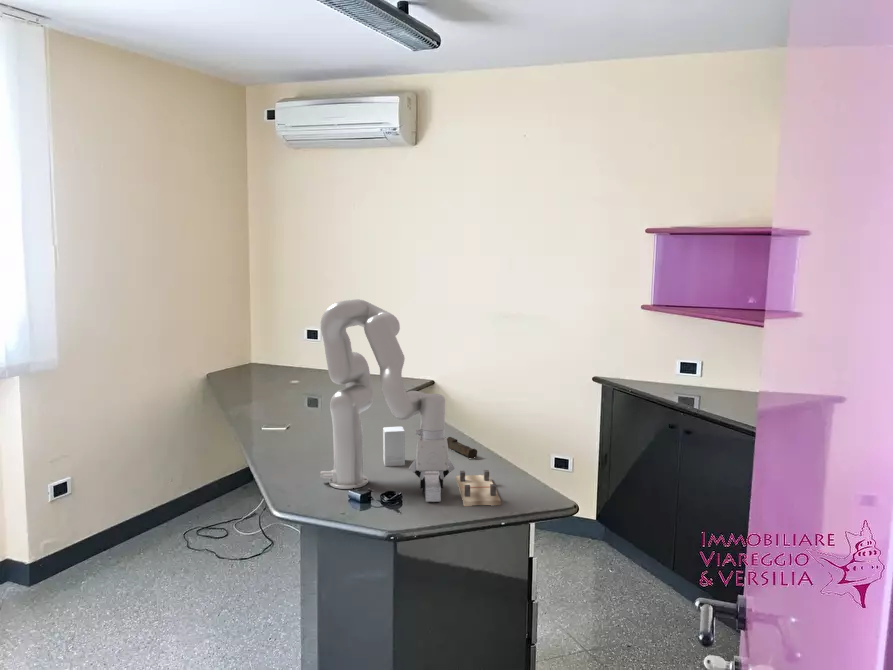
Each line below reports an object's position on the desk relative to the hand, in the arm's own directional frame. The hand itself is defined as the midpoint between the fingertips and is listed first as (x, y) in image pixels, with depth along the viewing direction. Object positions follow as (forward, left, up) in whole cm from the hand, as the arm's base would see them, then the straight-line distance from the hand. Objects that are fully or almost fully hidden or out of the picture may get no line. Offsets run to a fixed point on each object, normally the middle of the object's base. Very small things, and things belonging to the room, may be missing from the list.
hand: (431, 489), depth 212 cm
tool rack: (+14, 0, -1) cm, 15 cm away
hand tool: (+13, +44, -2) cm, 46 cm away
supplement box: (-12, +33, -1) cm, 35 cm away
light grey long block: (0, 0, 0) cm, 0 cm away
